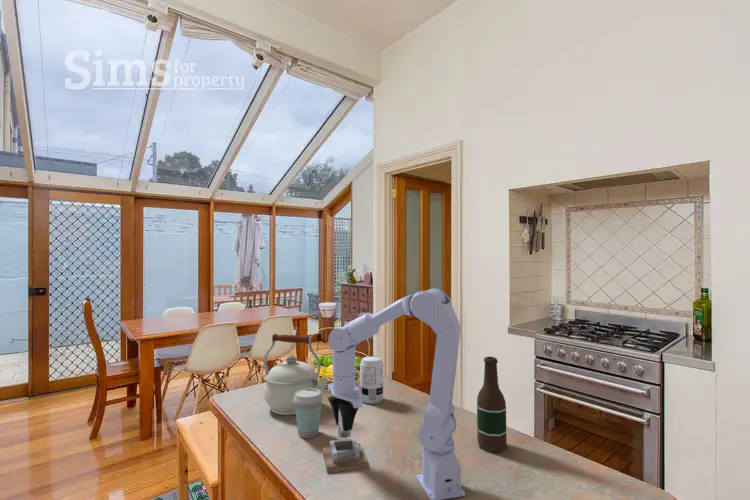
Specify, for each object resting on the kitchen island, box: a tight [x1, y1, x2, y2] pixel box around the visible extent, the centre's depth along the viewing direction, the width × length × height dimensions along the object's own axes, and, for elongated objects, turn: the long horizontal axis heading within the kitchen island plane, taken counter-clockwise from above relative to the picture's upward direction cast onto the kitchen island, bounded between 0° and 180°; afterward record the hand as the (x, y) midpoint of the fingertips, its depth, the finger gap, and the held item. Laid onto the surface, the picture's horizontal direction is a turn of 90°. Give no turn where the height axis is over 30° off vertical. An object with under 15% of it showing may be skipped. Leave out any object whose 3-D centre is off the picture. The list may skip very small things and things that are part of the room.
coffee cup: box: [293, 388, 324, 439], centre depth 113 cm, size 8×8×12 cm
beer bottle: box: [476, 356, 507, 454], centre depth 105 cm, size 8×8×24 cm
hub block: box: [322, 437, 369, 474], centre depth 98 cm, size 10×10×4 cm
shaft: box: [337, 408, 352, 439], centre depth 98 cm, size 3×3×7 cm
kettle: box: [262, 333, 330, 416], centre depth 133 cm, size 25×18×25 cm
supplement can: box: [359, 355, 384, 405], centre depth 139 cm, size 8×8×15 cm
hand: (344, 427), depth 98 cm, fingers closed on shaft, 3 cm apart
